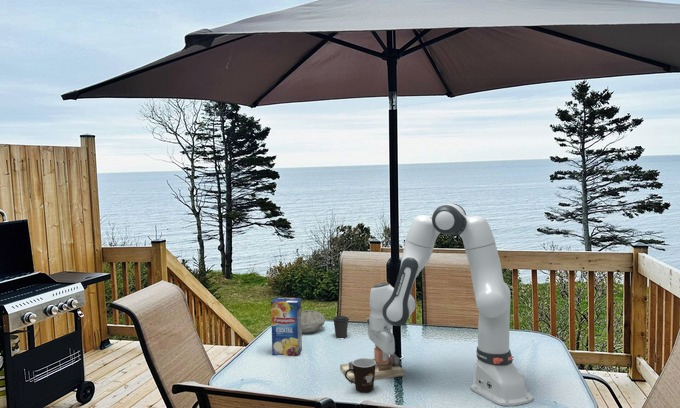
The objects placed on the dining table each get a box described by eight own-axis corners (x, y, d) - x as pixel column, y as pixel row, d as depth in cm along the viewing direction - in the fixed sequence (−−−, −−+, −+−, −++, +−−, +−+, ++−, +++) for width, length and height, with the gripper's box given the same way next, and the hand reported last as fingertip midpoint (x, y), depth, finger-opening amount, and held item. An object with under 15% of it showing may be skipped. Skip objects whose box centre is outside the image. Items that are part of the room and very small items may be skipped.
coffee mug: (374, 383, 183) (374, 357, 183) (377, 393, 175) (377, 366, 174) (344, 384, 183) (343, 358, 182) (345, 394, 174) (344, 367, 174)
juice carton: (272, 355, 215) (270, 301, 213) (276, 349, 222) (275, 297, 221) (298, 356, 213) (297, 302, 211) (302, 350, 220) (301, 298, 219)
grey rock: (287, 327, 255) (287, 308, 254) (320, 323, 260) (319, 305, 259) (294, 337, 238) (294, 317, 237) (329, 333, 243) (329, 313, 242)
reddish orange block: (389, 362, 193) (388, 350, 193) (378, 364, 192) (378, 351, 192) (384, 358, 198) (384, 346, 197) (374, 360, 196) (374, 348, 196)
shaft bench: (404, 375, 190) (403, 362, 190) (350, 383, 184) (350, 369, 184) (390, 362, 204) (390, 349, 203) (340, 369, 197) (340, 356, 197)
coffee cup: (330, 335, 239) (329, 316, 239) (345, 333, 243) (344, 313, 242) (337, 340, 232) (336, 320, 231) (352, 338, 235) (351, 317, 235)
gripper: (398, 330, 185) (399, 365, 186) (379, 316, 205) (379, 348, 205) (383, 332, 183) (383, 368, 184) (365, 317, 203) (365, 350, 204)
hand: (381, 357), depth 195 cm, fingers closed on reddish orange block, 4 cm apart
